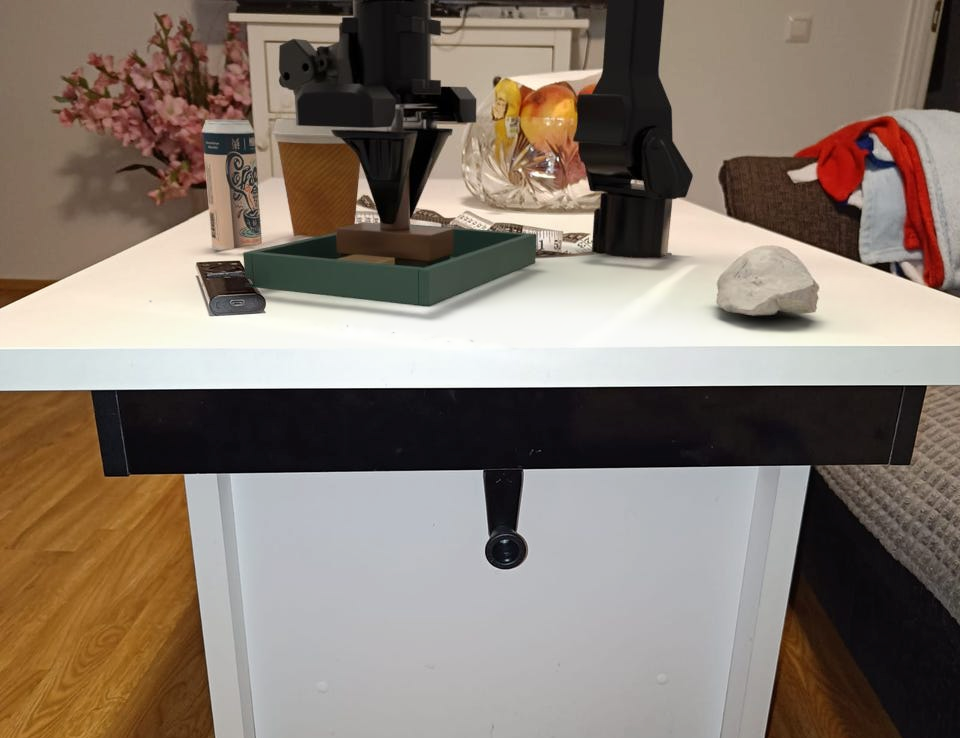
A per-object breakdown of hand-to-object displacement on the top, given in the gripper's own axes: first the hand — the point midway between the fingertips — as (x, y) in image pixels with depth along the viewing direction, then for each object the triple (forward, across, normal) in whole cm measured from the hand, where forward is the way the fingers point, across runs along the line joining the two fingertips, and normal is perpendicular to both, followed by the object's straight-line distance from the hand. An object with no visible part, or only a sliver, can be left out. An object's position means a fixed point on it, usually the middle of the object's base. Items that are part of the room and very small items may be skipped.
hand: (396, 221), depth 75 cm
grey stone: (+5, -2, +29) cm, 29 cm away
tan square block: (+4, +5, 0) cm, 7 cm away
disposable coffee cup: (+5, -19, -19) cm, 28 cm away
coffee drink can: (+5, -8, -22) cm, 24 cm away
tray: (+5, -1, 0) cm, 5 cm away
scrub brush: (+4, 0, 0) cm, 4 cm away
